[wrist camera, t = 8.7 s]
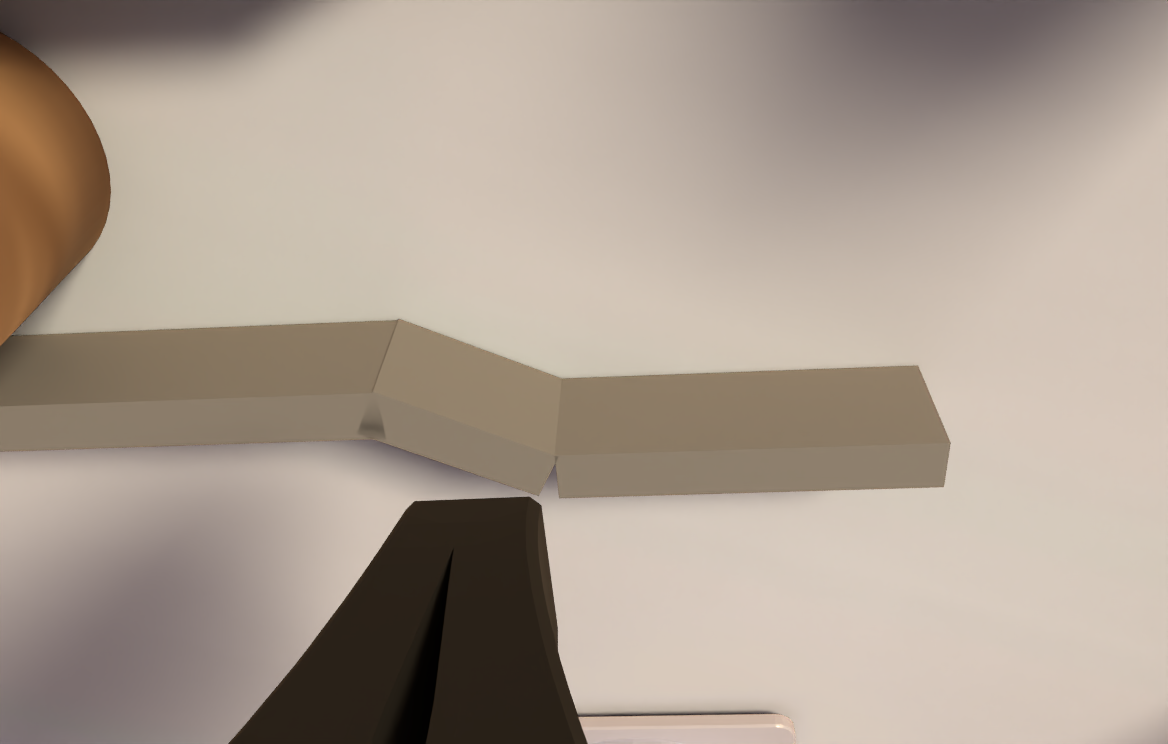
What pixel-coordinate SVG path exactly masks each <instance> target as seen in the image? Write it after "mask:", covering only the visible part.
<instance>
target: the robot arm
mask: <svg viewBox="0 0 1168 744" xmlns="http://www.w3.org/2000/svg"><path fill="white" fill-rule="evenodd" d="M795 740H796V736H795V730H794V725H793V722H792V721H791V720H790V719H789V718H788V717H785V716H783V715H780V714H734V715H669V716H604V717H578V714H577V711H576V708H575V705H574V702H573V699H572V696H571V694H570V691H569V688H568V684H567V681H566V678H565V674H564V671H563V668H562V664H561V661H560V657H559V653H558V627H557V619H556V612H555V604H554V597H553V589H552V582H551V575H550V567H549V560H548V552H547V545H546V537H545V530H544V522H543V515H542V507H541V505H540V504H539V503H537V502H536V501H535V500H533V499H532V498H531V497H510V498H485V499H460V500H435V501H414V502H413V503H412V504H411V505H410V506H409V507H408V508H407V509H406V510H405V512H404V514H403V515H402V517H401V518H400V520H399V521H398V523H397V524H396V526H395V527H394V529H393V530H392V532H391V533H390V535H389V536H388V538H387V539H386V541H385V542H384V544H383V545H382V547H381V548H380V550H379V551H378V553H377V554H376V555H375V557H374V558H373V560H372V561H371V563H370V564H369V566H368V567H367V569H366V570H365V571H364V573H363V574H362V576H361V577H360V579H359V580H358V581H357V583H356V584H355V586H354V587H353V588H352V590H351V591H350V593H349V594H348V596H347V597H346V598H345V600H344V601H343V602H342V604H341V605H340V606H339V608H338V609H337V610H336V612H335V613H334V614H333V616H332V617H331V618H330V620H329V621H328V622H327V624H326V625H325V626H324V628H323V629H322V630H321V632H320V633H319V634H318V636H317V637H316V638H315V640H314V641H313V642H312V644H311V645H310V646H309V648H308V649H307V650H306V652H305V653H304V654H303V655H302V657H301V658H300V659H299V661H298V662H297V663H296V664H295V666H294V667H293V668H292V669H291V670H290V672H289V673H288V674H287V675H286V676H285V678H284V679H283V680H282V681H281V682H280V684H279V685H278V686H277V687H276V688H275V690H274V691H273V692H272V693H271V694H270V696H269V697H268V698H267V699H266V700H265V702H264V703H263V704H262V705H261V706H260V708H259V709H258V710H257V711H256V712H255V714H254V715H253V716H252V717H251V718H250V720H249V721H248V722H247V723H246V724H245V726H244V727H243V728H242V729H241V730H240V731H239V732H238V733H237V735H236V736H235V737H234V738H233V739H232V740H231V741H230V742H229V743H228V744H795Z"/></svg>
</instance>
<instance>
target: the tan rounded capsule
mask: <svg viewBox="0 0 1168 744" xmlns="http://www.w3.org/2000/svg"><path fill="white" fill-rule="evenodd" d="M110 195H111V187H110V174H109V169H108V164H107V159H106V155H105V152H104V149H103V147H102V144H101V141H100V138H99V136H98V134H97V132H96V130H95V128H94V126H93V123H92V121H91V119H90V118H89V116H88V115H87V113H86V111H85V110H84V108H83V107H82V105H81V103H80V102H79V101H78V99H77V98H76V97H75V96H74V94H73V93H72V92H71V90H70V89H69V88H68V87H67V85H66V84H65V83H64V82H63V81H62V80H61V79H60V78H59V77H58V76H57V75H56V74H55V73H54V72H53V71H52V69H51V68H49V67H48V66H47V65H46V64H45V63H44V62H42V61H41V60H40V59H39V58H38V57H37V56H35V55H34V54H33V53H32V52H30V51H29V50H27V49H26V48H25V47H23V46H22V45H20V44H19V43H17V42H16V41H15V40H13V39H11V38H9V37H7V36H6V35H4V34H2V33H0V346H1V345H2V344H3V343H4V342H5V341H6V340H7V339H8V338H9V336H10V335H11V334H12V333H13V332H14V331H15V330H16V329H17V328H18V327H19V326H20V325H21V324H22V323H23V322H24V320H25V319H26V318H27V317H28V316H29V315H30V314H31V313H32V312H33V311H34V310H35V309H36V308H37V307H38V306H39V304H40V303H41V302H42V301H43V300H44V299H45V298H46V297H47V296H48V295H49V294H50V293H51V292H52V291H53V290H54V288H55V287H56V286H57V285H58V284H59V283H60V282H61V281H62V280H63V279H64V278H65V277H66V276H67V275H68V274H69V272H70V271H71V270H72V269H73V268H74V267H75V266H76V265H77V264H78V263H79V262H80V261H81V260H82V259H83V258H84V256H85V255H86V254H87V253H88V252H89V251H90V250H91V249H92V248H93V246H94V245H95V243H96V242H97V240H98V239H99V237H100V235H101V233H102V230H103V228H104V226H105V223H106V220H107V216H108V212H109V208H110Z"/></svg>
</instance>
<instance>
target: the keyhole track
mask: <svg viewBox="0 0 1168 744" xmlns="http://www.w3.org/2000/svg"><path fill="white" fill-rule="evenodd" d="M365 439H374V440H377V441H380V442H383V443H386V444H389V445H391V446H394V447H397V448H400V449H403V450H406V451H409V452H412V453H415V454H418V455H421V456H423V457H426V458H429V459H432V460H435V461H438V462H441V463H444V464H447V465H450V466H453V467H456V468H458V469H461V470H464V471H467V472H470V473H473V474H476V475H479V476H482V477H485V478H488V479H490V480H493V481H496V482H499V483H502V484H505V485H508V486H511V487H514V488H517V489H520V490H523V491H525V492H528V493H531V494H534V495H537V496H539V494H540V492H541V490H542V488H543V486H544V484H545V482H546V480H547V479H548V477H549V475H550V473H551V471H552V469H553V467H554V465H555V463H556V473H557V483H558V492H559V498H585V497H619V496H653V495H688V494H722V493H757V492H791V491H825V490H860V489H894V488H929V487H944V483H945V476H946V470H947V463H948V457H949V450H950V444H951V443H950V440H949V438H948V436H947V433H946V431H945V428H944V426H943V424H942V421H941V419H940V417H939V414H938V412H937V410H936V407H935V405H934V402H933V400H932V398H931V395H930V393H929V391H928V388H927V386H926V383H925V381H924V379H923V376H922V374H921V372H920V369H919V367H918V366H896V367H868V368H841V369H813V370H786V371H759V372H731V373H704V374H677V375H649V376H622V377H595V378H567V379H561V378H558V377H556V376H553V375H550V374H548V373H545V372H542V371H539V370H537V369H534V368H531V367H528V366H526V365H523V364H520V363H518V362H515V361H512V360H509V359H507V358H504V357H501V356H499V355H496V354H493V353H490V352H488V351H485V350H482V349H479V348H477V347H474V346H471V345H469V344H466V343H463V342H460V341H458V340H455V339H452V338H449V337H447V336H444V335H441V334H439V333H436V332H433V331H430V330H428V329H425V328H422V327H420V326H417V325H414V324H411V323H409V322H406V321H403V320H400V319H398V320H392V321H367V322H343V323H318V324H294V325H269V326H244V327H220V328H195V329H170V330H146V331H121V332H97V333H72V334H47V335H23V336H9V338H8V339H7V340H6V341H5V342H4V343H3V344H2V345H1V346H0V452H3V451H34V450H64V449H94V448H124V447H154V446H184V445H215V444H245V443H275V442H305V441H335V440H365Z"/></svg>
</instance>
